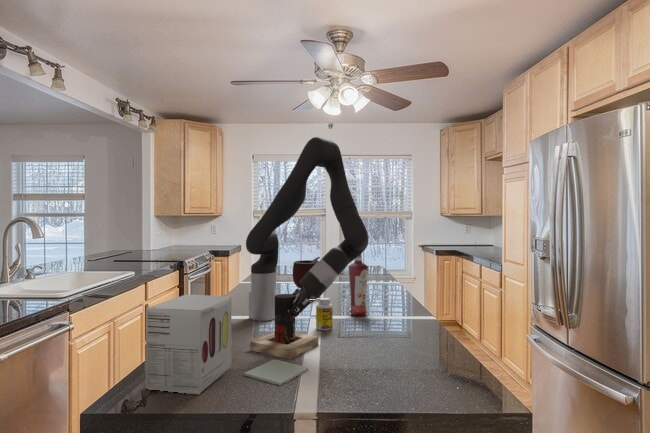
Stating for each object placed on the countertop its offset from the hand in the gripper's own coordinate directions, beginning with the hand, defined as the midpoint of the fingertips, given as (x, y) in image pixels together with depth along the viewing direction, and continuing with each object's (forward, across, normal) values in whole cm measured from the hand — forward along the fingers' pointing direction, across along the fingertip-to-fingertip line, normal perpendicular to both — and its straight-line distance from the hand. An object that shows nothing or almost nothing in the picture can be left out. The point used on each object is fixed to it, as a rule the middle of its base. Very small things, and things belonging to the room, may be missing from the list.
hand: (279, 321), depth 116 cm
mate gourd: (-10, -69, +21) cm, 73 cm away
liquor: (-19, -32, +30) cm, 48 cm away
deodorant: (+4, 0, +7) cm, 8 cm away
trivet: (+7, +18, +4) cm, 20 cm away
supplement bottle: (-7, -17, +18) cm, 26 cm away
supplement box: (+21, +17, -10) cm, 29 cm away
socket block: (+4, 0, +7) cm, 8 cm away
